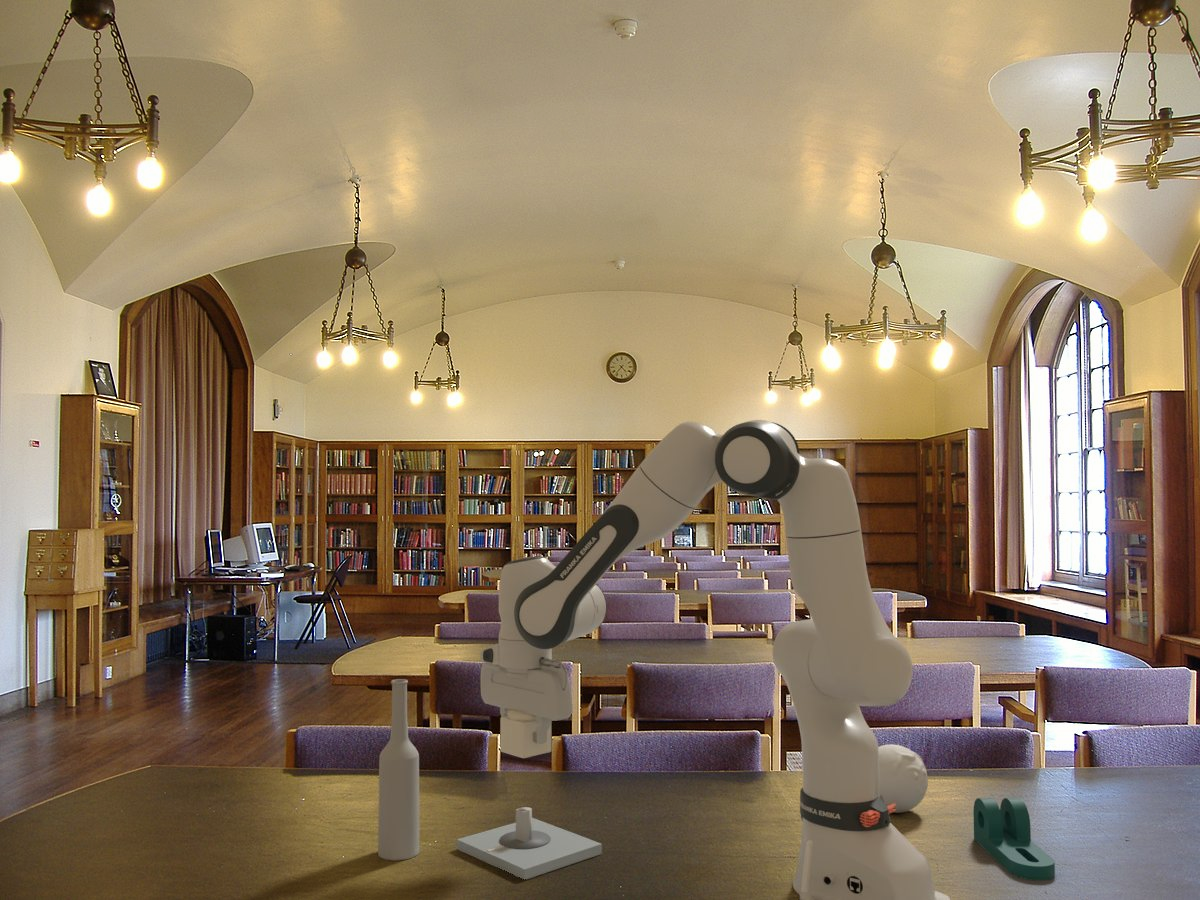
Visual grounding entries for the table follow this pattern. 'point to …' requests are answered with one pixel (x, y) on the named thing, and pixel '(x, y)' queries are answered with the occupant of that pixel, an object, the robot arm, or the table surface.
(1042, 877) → the bracket
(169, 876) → the table surface
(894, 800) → the decorative ball
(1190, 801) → the table surface
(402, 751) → the bottle
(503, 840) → the panel
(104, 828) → the table surface
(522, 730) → the knob
